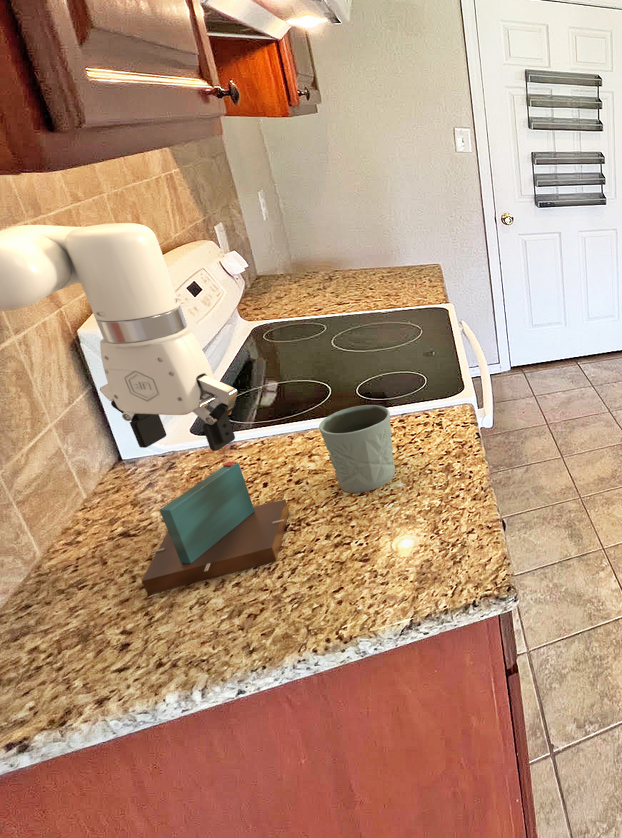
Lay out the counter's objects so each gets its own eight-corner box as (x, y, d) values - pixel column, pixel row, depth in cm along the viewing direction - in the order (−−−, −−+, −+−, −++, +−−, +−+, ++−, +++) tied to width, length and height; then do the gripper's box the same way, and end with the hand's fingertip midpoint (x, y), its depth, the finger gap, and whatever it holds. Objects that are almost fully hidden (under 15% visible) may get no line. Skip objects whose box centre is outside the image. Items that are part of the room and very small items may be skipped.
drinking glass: (321, 494, 96) (304, 433, 92) (357, 460, 105) (343, 403, 101) (382, 495, 96) (368, 434, 92) (412, 461, 106) (400, 404, 101)
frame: (190, 563, 78) (168, 508, 74) (180, 563, 78) (158, 508, 74) (255, 511, 88) (238, 460, 85) (246, 510, 88) (229, 460, 85)
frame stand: (137, 605, 74) (130, 590, 73) (174, 533, 87) (168, 519, 86) (279, 567, 81) (275, 552, 80) (295, 505, 93) (291, 491, 92)
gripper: (42, 334, 67) (97, 456, 73) (184, 339, 67) (227, 462, 73) (108, 312, 74) (153, 426, 80) (237, 317, 74) (272, 431, 80)
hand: (188, 443), depth 77 cm, fingers open, 9 cm apart
